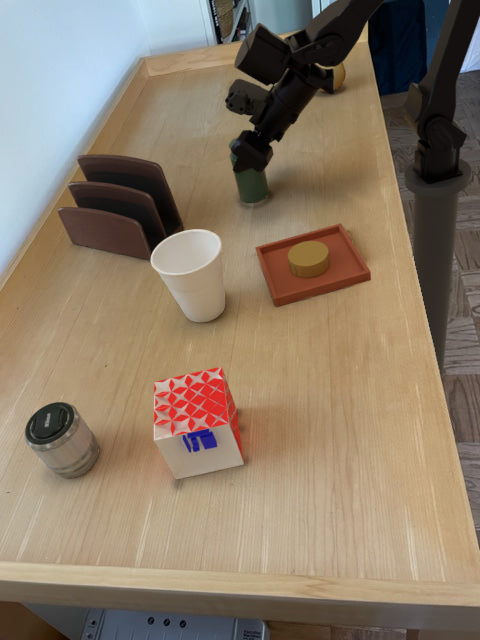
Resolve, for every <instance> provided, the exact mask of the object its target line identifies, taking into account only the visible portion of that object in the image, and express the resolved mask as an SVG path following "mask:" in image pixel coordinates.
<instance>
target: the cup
mask: <svg viewBox="0 0 480 640" xmlns="http://www.w3.org/2000/svg"><path fill="white" fill-rule="evenodd" d="M222 248H223V241H222V239H221V237H220V236H219V235H218V234H216V232H213V231H211V230H209V229H203V228H202V229H201V228H199V229H198V228H193V229H187V230H182V231H181V232H179V233H176V234H174V235H172V236H170V237H168V238H166V239H165V240H163V241H162V242H161V243H160V244H159V245H158V246H157V247H156V248H155V249H154V251H153V252H152V255H151V260H150V265H151V267H152V268H153V269H154V270H155V271H156V272H157V273H158V275H159V277H160V278H161V279H162V280H163V282H164V284H165V285H166V288H167V289H168V290H169V292H170V293H171V295H172V297H173V298H174V300H175V301H176V302H177V305H178V306H179V307H180V309H181V310H182V312H183V314H184V315H185V317H186V318H187V319H188V320H189V321H192V322H195V323H207V322H211V321H213V320H215V319H217V318H218V317H219V316H220V315H221V314H222V313H223V312H224V310H225V309H226V295H225V283H224V282H225V281H224V272H223V259H222Z"/></svg>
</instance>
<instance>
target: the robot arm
mask: <svg viewBox="0 0 480 640" xmlns="http://www.w3.org/2000/svg"><path fill="white" fill-rule="evenodd" d="M385 1H386V0H334V1H333V2H331V3H330V4H328V5H326V7H325V8H323V10H321V11H320V12H319V13H318V14H317V15H315V16H314V17H313V18H312V19H311V20H310V21H309V23H308V24H307V26H306V27H305V28H303V29H300V30H298V31H296V32H294V33H292V34H290V35H288V36H286V37H284V38H282V37H281V36H279V35H278V34H275V33H274V32H273V31H271V30H270V29H269V27H267V26H266V25H265V24H263V23H261V22H257V23H256V26H255V27H254V29H252V30H251V31H250V32H249V34H248V35H247V37H246V38H244V39H243V40H242V43H241V45H240V47H239V49H238V51H237V54H236V56H235V60H234V64H233V66H234V68H235V69H236V70H238V71H240V72H242V73H243V74H245V75H247V76H249V77H250V78H252V79H254V80H255V81H257V82H259V83H260V84H263V85H264V86H266V87H269V86H270V85H272V86H271V87H270V89H269V90H268V89H267V88H264V87H262V86H261V85H259V84H256V83H253V82H251V81H248V80H245V79H243V78H236V79H235V80H234V81H233V83H232V84H230V86H229V88H228V93H227V96H226V98H225V99H224V103H225V108H226V109H227V110H228V111H229V112H231V113H233V114H237V115H239V116H243V115H245V116H248V117H249V116H250V117H249V120H248V122H249V123H250V124H252V125H253V128H252V129H242V131H241V132H240V134H239V135H238V136H237V137H238V138H237V137H236V138H237V139H236V141H235V142H234V144H233V145H232V147H231V150H230V152H231V151H232V153H233V154H235V155H236V156H237V159H236V162H235V164H234V167H233V168H232V171H234V172H235V173H237V174H238V173H240V172H243V171H246V170H248V169H251V168H253V169H254V170H255V171H257V172H260V173H262V172H263V170H264V169H265V170H266V168H267V167H268V166H269V164H270V163H271V160H272V158H273V156H274V154H275V153H274V149H273V146H272V145H271V143H272V142H274V141H276V143H278V144H279V143H280V142H281V140H282V139H283V138H284V136H285V134H286V132H287V131H288V130H289V128H290V127H291V126H292V125H294V124H295V123H296V122H297V121H298V119H299V117H300V115H301V113H302V112H303V111H304V109H305V108H306V107H307V106H308V105H309V103H310V102H311V101H312V100H313V99H314V98H315V96H316V95H317V94H318V93H319V92H320V91H319V90H320V89H322V90H324V91H326V92H325V93H327V94H329V95H330V96H333V95H334V94H335V90H334V69H333V68H331V69H324V68H321V67H319V66H318V65H316V64H315V63H318V64H319V65H320V66H324V67H335V66H337V65H339V64H340V63H344V61H345V60H346V58H348V56H349V54H350V53H351V52H352V50H353V49H354V47H355V46H356V44H357V43H358V42H359V39H360V38H361V35H362V34H363V31H364V29H365V27H366V24H367V23H368V22H369V20H370V18H371V17H372V15H373V14H374V13H375V12H376V11H377V10H378V9H379V8H380V7H381V6H382V5H383V3H384V2H385ZM479 20H480V0H450V1H449V3H448V7H447V10H446V13H445V16H444V19H443V23H442V26H441V29H440V32H439V35H438V38H437V41H436V45H435V47H434V51H433V54H432V57H431V59H430V64H429V67H428V69H427V72H426V74H425V76H424V77H423V78H422V79H421V80H420V81H419V83H416V82H415V83H414V82H410V84H409V86H408V92H407V93H408V94H407V97H406V99H405V101H404V103H403V104H402V108H403V109H404V119H405V120H406V122H407V123H408V124H409V126H410V128H411V129H412V130H413V131H414V132H415V134H416V135H417V137H418V138H419V139H418V140H417V149H415V150H414V159H413V160H414V161H413V162H414V166H413V170H414V171H415V172H416V173H417V174H418V175H419V177H421V178H422V179H423V180H424V182H425V183H426V184H433V183H436V182H440V181H444V180H447V179H451V178H454V177H458V176H461V175H463V171H462V170H461V169H460V168H459V158H460V156H461V148H463V146H464V144H465V142H466V139H467V137H468V134H467V133H466V132H465V130H463V128H462V127H461V126H459V124H458V123H456V121H455V120H454V119H455V115H456V111H457V84H458V79H459V76H460V74H461V71H462V69H463V65H464V63H465V60H466V57H467V54H468V51H469V49H470V46H471V43H472V40H473V38H474V35H475V33H476V32H475V31H476V30H477V27H478V23H479V22H480V21H479ZM460 159H461V158H460ZM234 172H233V173H234Z"/></svg>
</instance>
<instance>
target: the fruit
mask: <svg viewBox="0 0 480 640" xmlns="http://www.w3.org/2000/svg"><path fill="white" fill-rule="evenodd" d="M315 64H316V65H318V66H319V67H321V68H324V69H331V68H333V69H334V91H335V90H338V89H340V88H341V86H342V85H343V83H344V81H345V80H346V75H347V74H346V71H347V70H346V69H345V65H344V62H342V63H340V64H339V65H337V66H335V67H324V66H320V65H319V64H318V63H315ZM318 92H320V93H321V92H322V93H327V92H326V91H324V90H322V89H320V90H319V91H318Z"/></svg>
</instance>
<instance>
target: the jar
mask: <svg viewBox="0 0 480 640" xmlns="http://www.w3.org/2000/svg"><path fill="white" fill-rule="evenodd" d="M237 138H238V136H237V137H235V138H233V139H232V140H230V142H229V143H228V148H229V149H230V153H229V159H230V163H231V168H232V169H233V167H234V164H235V162H236V159H237V156H236V155H235V154H233V153H232V151H231V147H232V145H233V144H234V142H235V141H236V139H237ZM232 171H233V170H232ZM233 175H234V179H235V183H236V188H237V191H238V195H239V199H240V201H242V202H244V203H251V204H252V203H257V202H260V201H264V199H266V198H267V197H268V196H269V195H270V187H269V183H268V177H267V172H266V168H265V169H264V170H263V172H262V173H260V172H257V171H255V170H254V169H253V168H251V169H248V170H246V171H243V172H240V173H238V174H237V173H235V172H234V171H233Z"/></svg>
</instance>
